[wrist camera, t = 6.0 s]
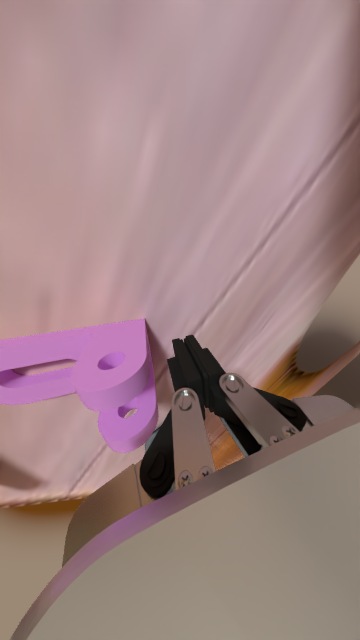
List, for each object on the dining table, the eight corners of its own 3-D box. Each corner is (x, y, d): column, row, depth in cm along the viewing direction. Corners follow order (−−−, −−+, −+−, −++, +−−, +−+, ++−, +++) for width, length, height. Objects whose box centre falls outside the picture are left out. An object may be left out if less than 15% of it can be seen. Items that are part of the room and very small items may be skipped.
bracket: (144, 317, 12) (147, 378, 6) (153, 363, 14) (161, 440, 8) (-44, 345, 9) (-390, 510, 3) (6, 396, 12) (-140, 545, 6)
